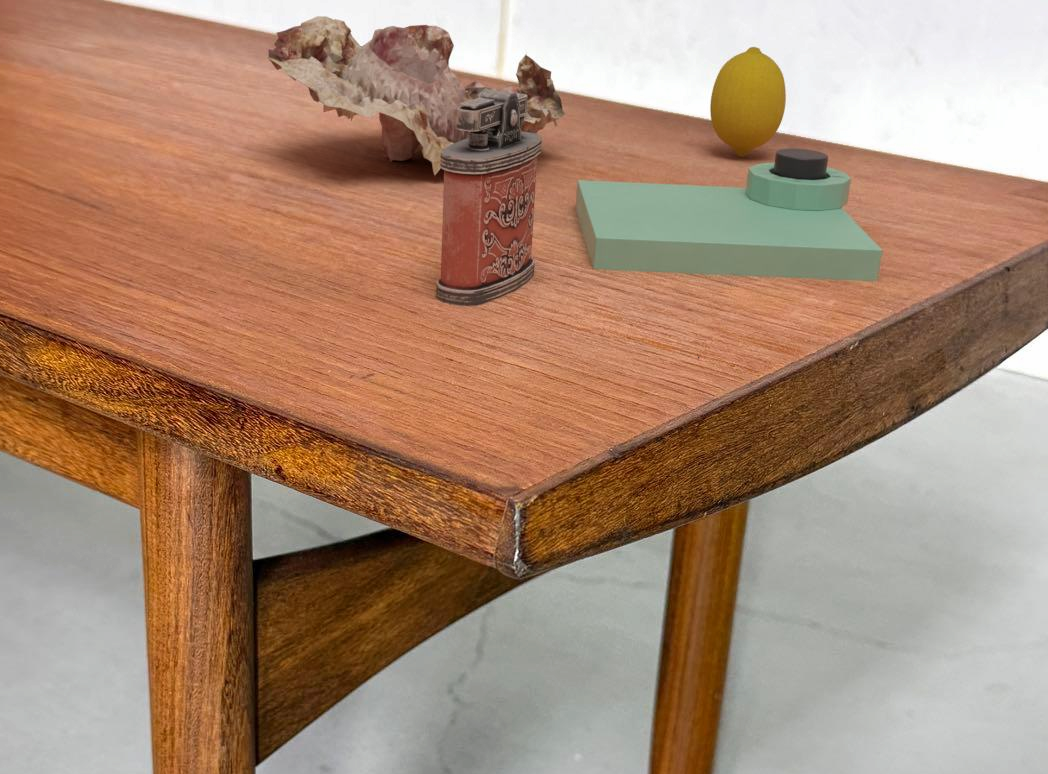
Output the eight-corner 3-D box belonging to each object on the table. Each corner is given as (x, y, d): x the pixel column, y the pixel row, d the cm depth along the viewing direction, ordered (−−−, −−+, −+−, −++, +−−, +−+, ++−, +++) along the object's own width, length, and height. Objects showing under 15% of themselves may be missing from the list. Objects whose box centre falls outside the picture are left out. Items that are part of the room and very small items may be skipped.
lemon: (736, 146, 116) (748, 39, 113) (792, 159, 113) (807, 50, 109) (689, 153, 113) (701, 43, 109) (746, 167, 109) (760, 54, 106)
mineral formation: (291, 176, 94) (356, 35, 89) (220, 62, 104) (274, -70, 100) (564, 255, 108) (632, 136, 103) (477, 147, 118) (535, 35, 113)
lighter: (491, 264, 82) (500, 78, 78) (547, 274, 81) (559, 86, 77) (421, 300, 76) (426, 99, 71) (480, 311, 75) (489, 108, 70)
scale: (828, 218, 96) (836, 164, 95) (887, 283, 83) (897, 221, 82) (574, 207, 95) (578, 152, 94) (593, 271, 82) (598, 208, 81)
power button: (818, 174, 94) (822, 149, 93) (829, 185, 91) (833, 160, 90) (768, 172, 93) (771, 147, 93) (778, 183, 91) (781, 158, 90)
